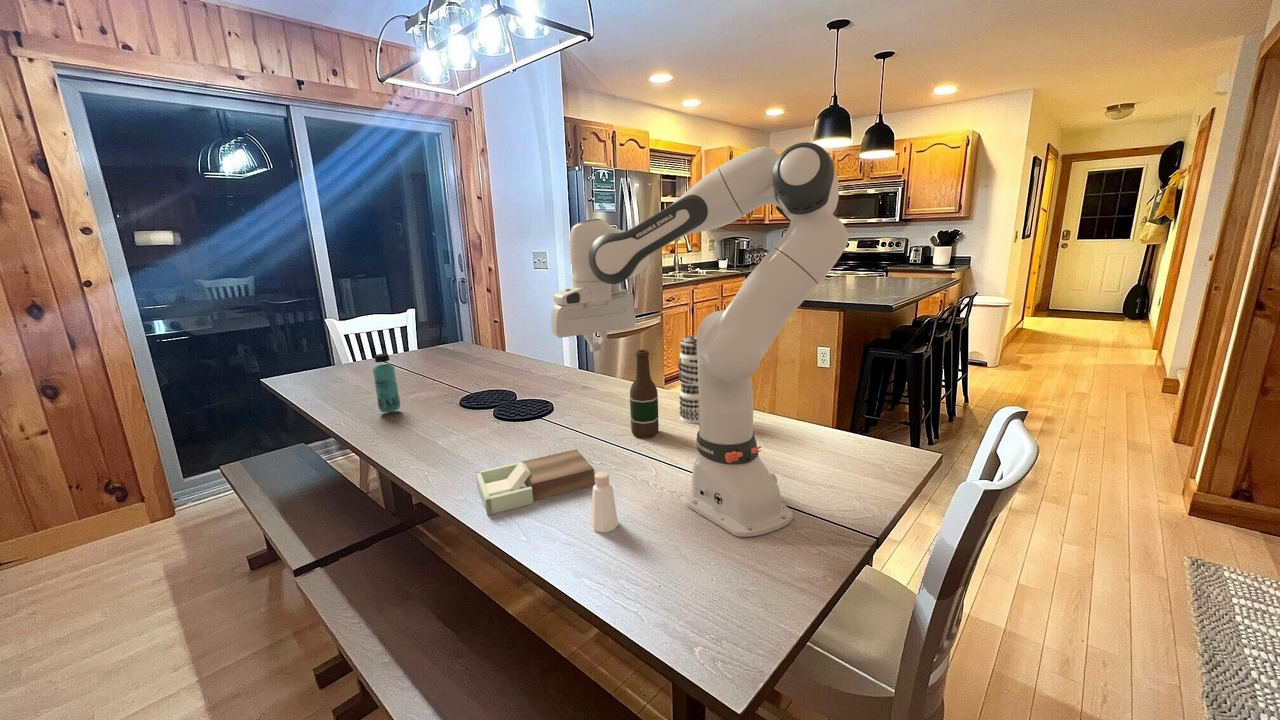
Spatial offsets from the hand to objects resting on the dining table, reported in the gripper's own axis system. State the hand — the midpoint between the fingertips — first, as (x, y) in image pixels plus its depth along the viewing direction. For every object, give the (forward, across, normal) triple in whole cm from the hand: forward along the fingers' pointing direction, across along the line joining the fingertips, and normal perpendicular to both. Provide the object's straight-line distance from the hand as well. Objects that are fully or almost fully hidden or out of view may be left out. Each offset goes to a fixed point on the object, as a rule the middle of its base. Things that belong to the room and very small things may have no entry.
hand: (596, 350), depth 120 cm
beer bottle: (+29, -16, -10) cm, 34 cm away
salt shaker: (+28, +11, +27) cm, 41 cm away
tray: (+28, +26, +4) cm, 39 cm away
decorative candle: (+29, -34, -12) cm, 47 cm away
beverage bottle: (+27, +48, -68) cm, 87 cm away
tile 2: (+25, +22, +5) cm, 34 cm away
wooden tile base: (+28, +14, +5) cm, 32 cm away
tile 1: (+26, +27, +4) cm, 38 cm away
